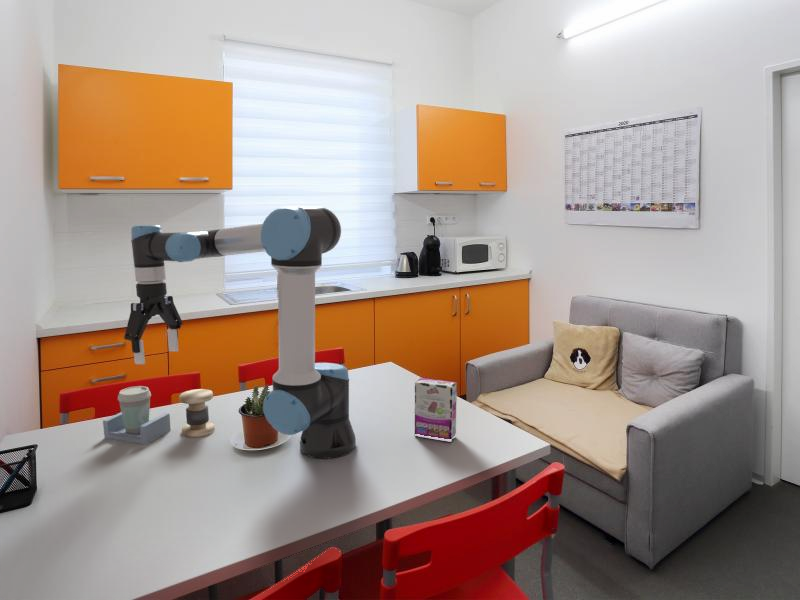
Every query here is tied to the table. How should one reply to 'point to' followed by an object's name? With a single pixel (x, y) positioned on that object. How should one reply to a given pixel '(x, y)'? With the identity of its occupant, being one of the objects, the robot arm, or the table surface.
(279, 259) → the robot arm
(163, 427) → the u-shaped channel bracket
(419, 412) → the candy bar box
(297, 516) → the table surface
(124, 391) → the coffee cup
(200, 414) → the bobbin
